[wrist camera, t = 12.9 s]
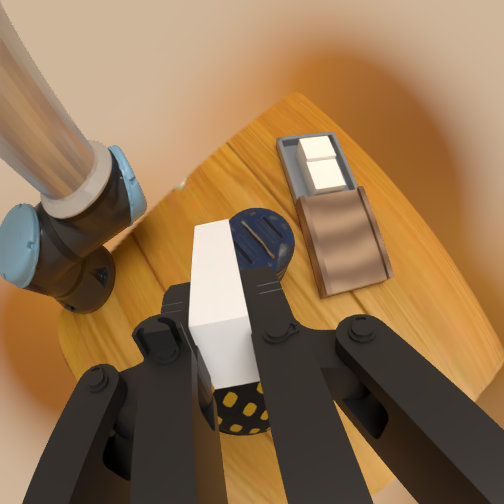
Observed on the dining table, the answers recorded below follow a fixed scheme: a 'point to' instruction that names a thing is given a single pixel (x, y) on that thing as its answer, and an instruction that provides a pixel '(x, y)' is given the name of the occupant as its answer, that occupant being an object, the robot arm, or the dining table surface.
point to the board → (343, 241)
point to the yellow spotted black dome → (241, 409)
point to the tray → (292, 169)
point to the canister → (262, 240)
